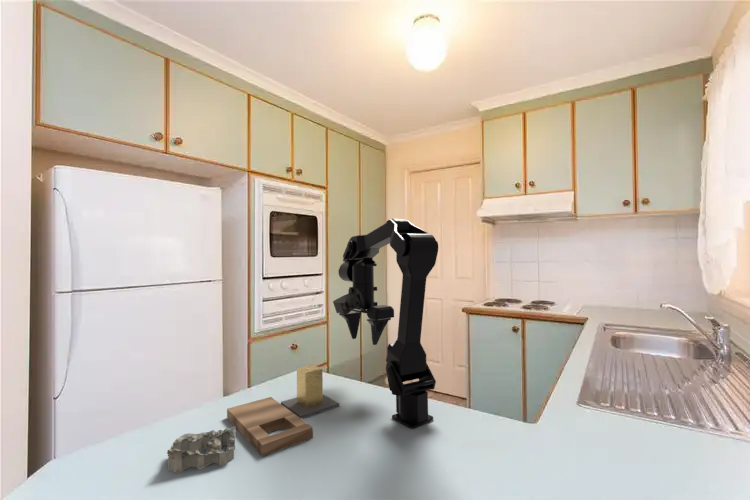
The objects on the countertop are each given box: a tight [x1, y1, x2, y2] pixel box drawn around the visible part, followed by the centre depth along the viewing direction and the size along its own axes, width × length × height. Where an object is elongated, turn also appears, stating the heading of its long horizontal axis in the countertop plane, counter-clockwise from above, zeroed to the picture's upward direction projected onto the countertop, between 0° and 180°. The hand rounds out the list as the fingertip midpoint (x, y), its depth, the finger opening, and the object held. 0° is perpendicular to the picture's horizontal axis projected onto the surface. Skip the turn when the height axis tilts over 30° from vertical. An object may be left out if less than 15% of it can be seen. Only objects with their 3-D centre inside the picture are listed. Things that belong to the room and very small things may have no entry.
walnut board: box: [226, 396, 314, 457], centre depth 74 cm, size 20×10×2 cm, turn 39°
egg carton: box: [166, 425, 237, 474], centre depth 63 cm, size 11×8×4 cm
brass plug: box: [296, 364, 324, 408], centre depth 85 cm, size 4×4×8 cm
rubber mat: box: [280, 394, 340, 419], centre depth 85 cm, size 10×10×1 cm
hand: (364, 341), depth 97 cm, fingers open, 9 cm apart
